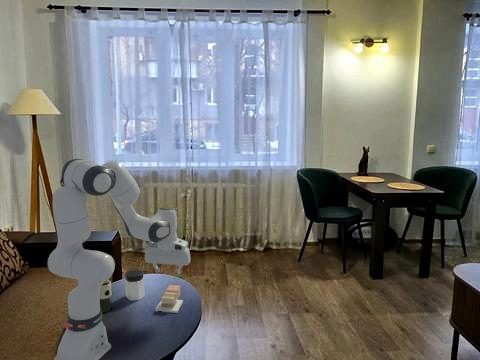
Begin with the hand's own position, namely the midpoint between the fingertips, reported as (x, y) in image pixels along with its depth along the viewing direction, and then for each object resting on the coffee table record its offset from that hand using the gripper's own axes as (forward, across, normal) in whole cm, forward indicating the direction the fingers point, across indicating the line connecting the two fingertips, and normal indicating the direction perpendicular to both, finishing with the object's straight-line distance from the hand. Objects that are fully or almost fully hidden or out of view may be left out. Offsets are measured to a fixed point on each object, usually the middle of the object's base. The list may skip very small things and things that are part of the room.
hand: (167, 272), depth 183 cm
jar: (+17, -19, +8) cm, 26 cm away
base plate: (+17, 0, +1) cm, 17 cm away
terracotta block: (+16, -1, +11) cm, 20 cm away
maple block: (+16, 0, +1) cm, 16 cm away
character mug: (+17, -28, -6) cm, 33 cm away
